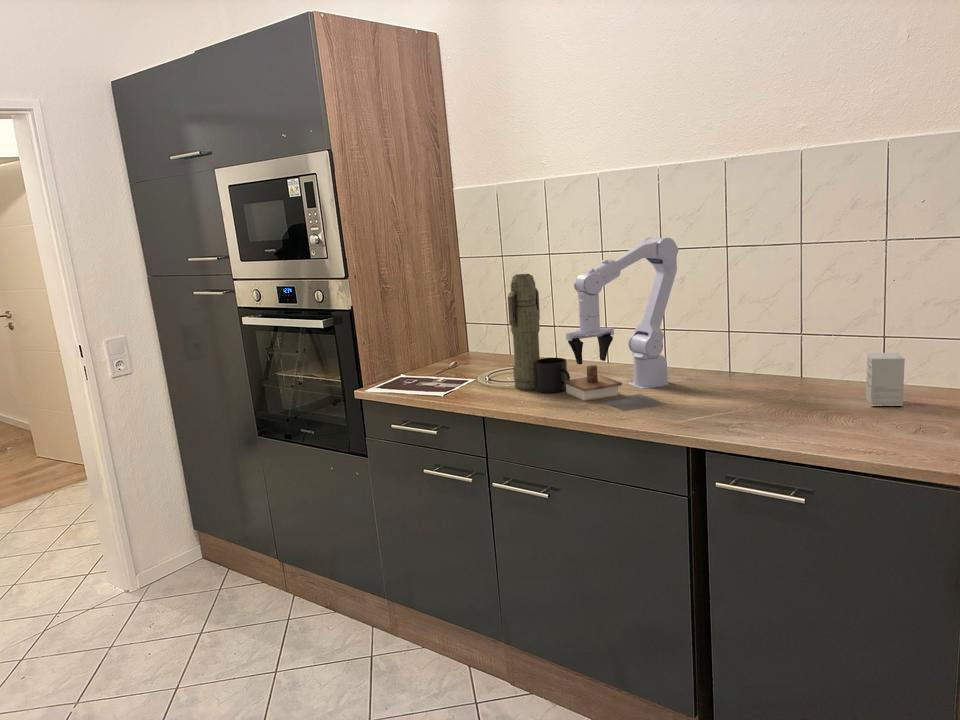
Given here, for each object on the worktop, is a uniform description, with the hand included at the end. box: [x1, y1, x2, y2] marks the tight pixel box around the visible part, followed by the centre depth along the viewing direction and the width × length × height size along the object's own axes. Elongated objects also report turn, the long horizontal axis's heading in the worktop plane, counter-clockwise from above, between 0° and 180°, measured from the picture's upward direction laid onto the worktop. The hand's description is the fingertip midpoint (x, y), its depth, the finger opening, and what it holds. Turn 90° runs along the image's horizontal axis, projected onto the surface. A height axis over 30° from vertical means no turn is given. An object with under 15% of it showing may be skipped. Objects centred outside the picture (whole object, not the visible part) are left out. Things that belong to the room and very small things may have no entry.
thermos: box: [507, 273, 541, 391], centre depth 226 cm, size 9×12×35 cm
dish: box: [565, 384, 619, 402], centre depth 214 cm, size 11×11×4 cm
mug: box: [535, 357, 571, 394], centre depth 222 cm, size 9×12×9 cm
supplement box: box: [865, 352, 906, 407], centre depth 186 cm, size 7×7×13 cm
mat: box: [599, 393, 666, 412], centre depth 203 cm, size 13×13×1 cm
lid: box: [564, 364, 623, 392], centre depth 212 cm, size 12×12×5 cm
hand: (591, 362), depth 212 cm, fingers open, 7 cm apart
